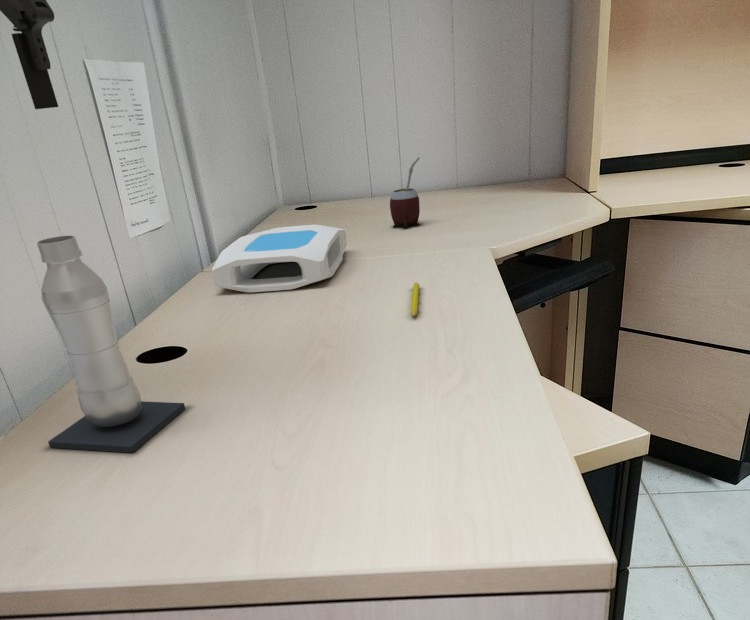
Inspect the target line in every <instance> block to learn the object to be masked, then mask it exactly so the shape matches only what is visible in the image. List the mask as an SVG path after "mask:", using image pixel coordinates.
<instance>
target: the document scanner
mask: <svg viewBox="0 0 750 620" xmlns="http://www.w3.org/2000/svg"><path fill="white" fill-rule="evenodd" d="M346 235H347V234H346V230H345V229H344V228H340V227H333V226H328V225H321V224H304V225H294V226H293V225H291V226H281V227H274V228H270V229H266V230H262V231H258V232H254V233H249V234H246V235H243V236H240V237H238V238H237V239H235V241H233V242H231V244H229V245H228V246H226V247H225V248H224V249H223V250H222V251H220V254H219V255H218V257H217V259H216V261H215V262H214V264H213V267H212V268H211V269H210V271H211V275H212V280H213V283H214V286H215V287H216V288H220V289H225V290H231V291H232V290H233V291H237V292H243V293H260V292H275V291H289V290H295V289H299V288H301V287H305V286H307V285H310V284H314V283H318V282H321V281H324V280H327V279H331V278H332V277H333V276H334V274H335V273H336V271H337V270H338V268H339V267H340V265H341V264H342V262H343V260H344V253H345V250H346V247H347V236H346ZM291 262H293V263H294V262H295V263H297V265H299V268H300V269H301V274H300V275H295V276H282V277H270V278H257V279H256V278H254V277H255V275H257V274H258V273H259V272H260V271H261V270H262V269H265V268H266V267H267V266H269V265H273V264H282V263H291Z"/></svg>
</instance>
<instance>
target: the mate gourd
mask: <svg viewBox="0 0 750 620" xmlns="http://www.w3.org/2000/svg"><path fill="white" fill-rule="evenodd" d="M419 160H420V157H417V158H416V159H415V160H414V162H412V164H411V166H410V167H409V169H408V178H407V183H406V187H405V188H400V189H396V190H393V191H392V193H391V195H390V197H389V209H390V217H391V219H392V222H393V225H392V227H393V229H395V228H403V230H406V229H407V230H408V227H418V226H420V222H419V219H420V213H421V212H420V196H419V193H418V192H417V191H416V189H415V188H410V183H411V178H412V173H413V171H414V167H415V165H416V164H417V162H418V161H419Z"/></svg>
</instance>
